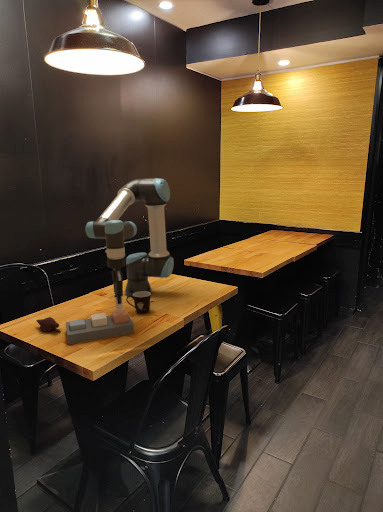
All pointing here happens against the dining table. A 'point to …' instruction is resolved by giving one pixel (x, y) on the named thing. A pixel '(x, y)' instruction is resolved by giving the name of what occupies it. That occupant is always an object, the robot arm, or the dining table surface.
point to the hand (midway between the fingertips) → (119, 309)
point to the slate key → (77, 324)
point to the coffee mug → (141, 302)
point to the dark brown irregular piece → (48, 325)
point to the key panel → (99, 330)
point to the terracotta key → (119, 316)
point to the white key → (98, 320)
